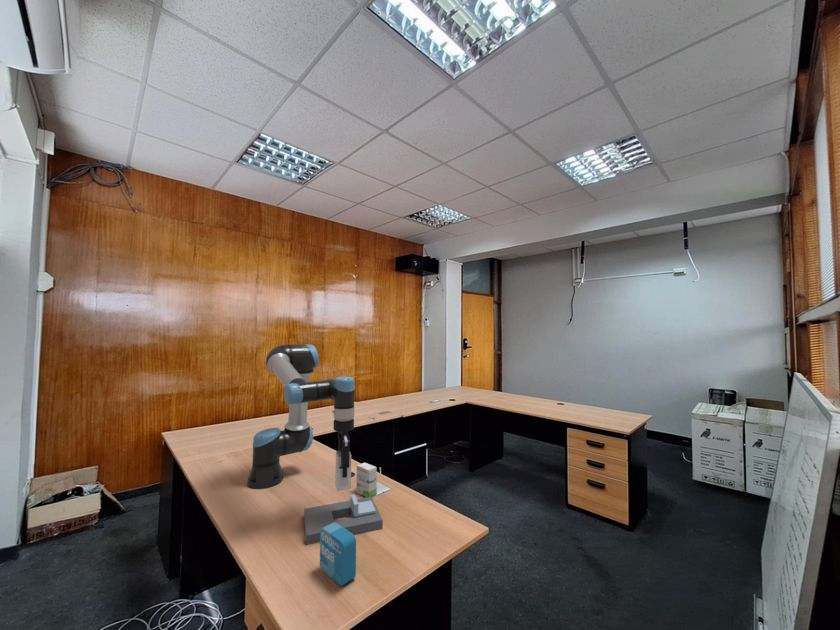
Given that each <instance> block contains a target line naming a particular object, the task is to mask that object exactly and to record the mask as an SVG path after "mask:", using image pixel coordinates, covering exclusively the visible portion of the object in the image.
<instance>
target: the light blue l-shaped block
mask: <svg viewBox="0 0 840 630" xmlns="http://www.w3.org/2000/svg"><path fill="white" fill-rule="evenodd" d="M357 499H358V498H357V496H356V493H355V494H350V500H351V509H352V512H353V515H354V517H356V516H361V515H367V514H372V513H376V510H375V508H374V506H373V503H372V501H371V500H370V501H365V502H359V503H358V501H357Z"/></svg>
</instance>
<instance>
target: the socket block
mask: <svg viewBox="0 0 840 630" xmlns="http://www.w3.org/2000/svg"><path fill="white" fill-rule="evenodd" d="M356 499H357V501H358V503H359V502H365V501H370V500H371V501H372V503H373V506H374V508H375V510H376V513H372V514H367V515H361V516H356V517H354V515H353V512H352V509H351V499H350V500H346V501H339V502H335V503H329V504H322V505H319V506H318V505H317V506H312V507H305V508H304V513H303V514H304V515H303V519H304V536H305V545H306V546H308V545H312V544H317V543H320V531H321V529H322V528H323V527H325V526H327V525H330V524H332V523H334V522H336V523H337V524H339V525H340V526H342V527H343V528H344V529H346V530H347V531H349V532H350V533H352V534H353V535H354V536H355V535H359V534H364V533H368V532H373V531H377V530H382V529H383V524H384V523H383V518H382V515H381V514H380V512H379V509H378V508H377V505H376V503H375V501H374V499H373V496H372V497H362V498H356ZM345 517H347V518H345ZM341 518H342V519H341ZM334 519H336V520H334Z"/></svg>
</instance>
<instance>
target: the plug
mask: <svg viewBox="0 0 840 630" xmlns="http://www.w3.org/2000/svg"><path fill="white" fill-rule="evenodd" d="M349 465H350V466H349V468H348V485H347V486H341V487H340V469H339V467H341V451H338V450H336V452H335V477H334V478H335V481H334V482H335V483H334V484H335V489H336V492H340V491H341V492H342V491H346V490H351V489H352V454H351V451H350V450H349Z"/></svg>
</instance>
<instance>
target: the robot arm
mask: <svg viewBox="0 0 840 630" xmlns="http://www.w3.org/2000/svg"><path fill="white" fill-rule="evenodd" d="M319 357H320V356H319V352H318V349H317V347H315V345H313V344H306V343H303V344H300V343H299V344H280V345H277V346H275V347H274V348H272V349H270V351H269V352H268V353H267V355H266V358H265V366H266V367H267V369H268V370H269V371H270V372H271V373H273V374H275V376H276V377H277V379H278V381H280V383H281V384H282V386H283V387H284V388H283V398H284V402H285V404H288V407H289V408H288V410H289V411H288V421H287V422H286V423H285V424H284V429H282V430H281V428H279V427H270V428H267V429H263V430H261V431H259V432H256V433H255V434H254V436H253V440H252V465H251V466H252V467H251V470H250V473H249V475H248V478H247V486H248V488H250V489H267V488H270V487H274V486H276V485H278V484H280V483H281V482H283V479H284V472H283V470H282V467H281V463H280V460H281V459H280V457H284V456H288V455H292V454H296V453H302V452H304V451H307V450H309V448H311V446H312V443H313V440H314V434H313V433H314V430H313V428H312V427H311V426H310V423H309V422H308V421H307V419H308V407H309V403H313V402H319V401H329V400H333V409H334V410H332V411H331V414H333V418H334V420H333V431H334V432H337V439H338V440H337V451H341V467H339V469H340V487H341V486H347V485H348V468H349V466H350V465H349V451H350V443H351V441H350V438H351V437H350V434H349V432H350V431H351V432H352V431H353V430H354V428H355V419H354V418H355V393H356V392H355V389H356V387H355V378H354V377H353V376H337V377H335V378H326V379H324V380H317V381H310V379H311V375H312V374H313V373H314V369H315V368H317V367H318V366H319V363H320V358H319Z"/></svg>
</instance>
